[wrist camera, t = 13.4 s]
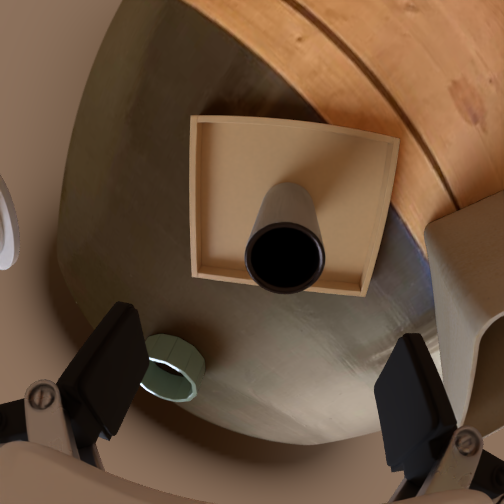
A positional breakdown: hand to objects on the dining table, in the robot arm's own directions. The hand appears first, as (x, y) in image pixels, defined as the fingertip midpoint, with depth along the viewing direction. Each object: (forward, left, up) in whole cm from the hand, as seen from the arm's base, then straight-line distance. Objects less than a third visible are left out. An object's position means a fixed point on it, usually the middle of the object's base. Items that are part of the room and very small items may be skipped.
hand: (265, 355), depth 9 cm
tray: (0, 0, -18) cm, 18 cm away
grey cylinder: (0, 0, -18) cm, 18 cm away
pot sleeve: (-13, -23, -18) cm, 32 cm away
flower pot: (+22, -2, -18) cm, 29 cm away
